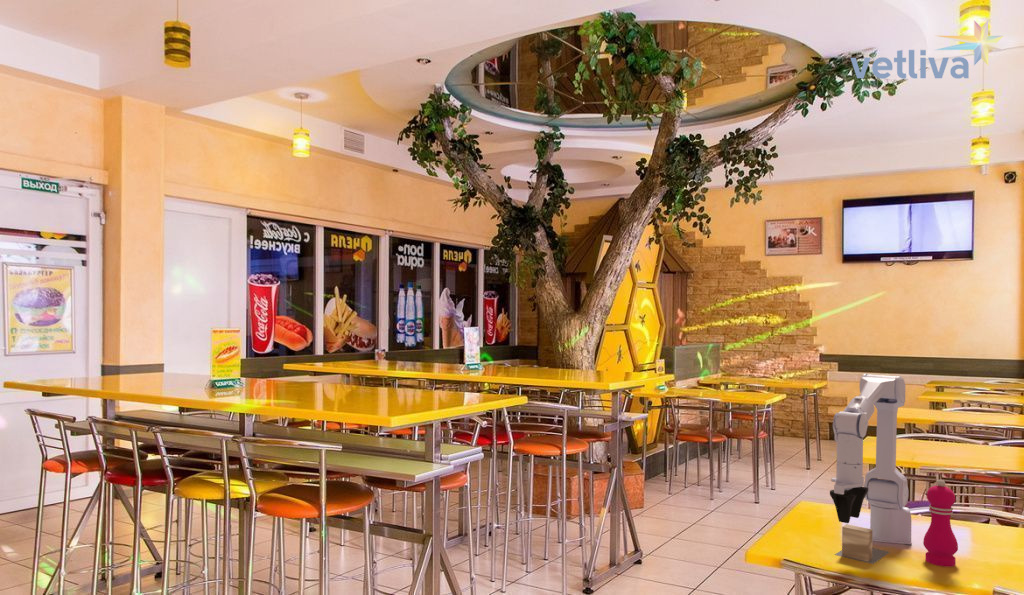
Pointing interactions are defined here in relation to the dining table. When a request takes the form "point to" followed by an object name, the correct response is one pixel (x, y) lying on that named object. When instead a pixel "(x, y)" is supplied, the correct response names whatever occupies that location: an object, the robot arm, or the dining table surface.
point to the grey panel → (876, 555)
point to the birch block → (857, 542)
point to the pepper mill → (940, 527)
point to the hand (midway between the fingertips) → (848, 519)
